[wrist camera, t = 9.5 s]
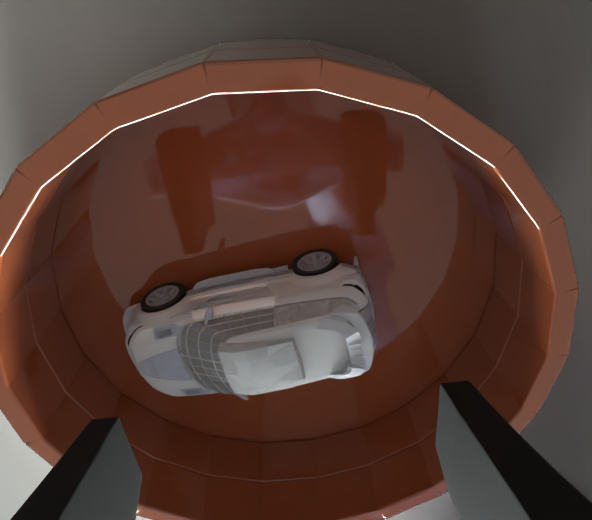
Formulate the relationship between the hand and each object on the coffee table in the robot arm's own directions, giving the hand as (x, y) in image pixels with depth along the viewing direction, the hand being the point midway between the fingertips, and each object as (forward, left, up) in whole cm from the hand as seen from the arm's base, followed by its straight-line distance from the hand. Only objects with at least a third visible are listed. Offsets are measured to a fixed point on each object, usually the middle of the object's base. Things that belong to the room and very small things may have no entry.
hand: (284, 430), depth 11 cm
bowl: (0, 0, -6) cm, 6 cm away
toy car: (0, +1, -6) cm, 6 cm away
